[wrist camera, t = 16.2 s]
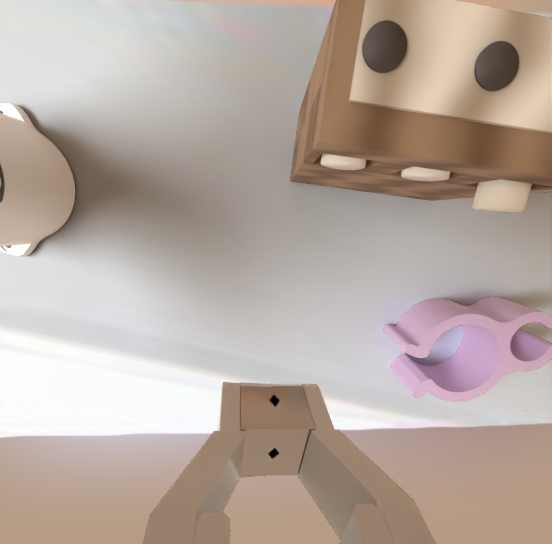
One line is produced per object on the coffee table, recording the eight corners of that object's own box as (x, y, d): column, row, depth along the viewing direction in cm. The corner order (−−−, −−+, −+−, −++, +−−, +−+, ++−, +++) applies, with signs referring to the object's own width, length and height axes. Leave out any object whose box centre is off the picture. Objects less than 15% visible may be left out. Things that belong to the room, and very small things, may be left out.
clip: (508, 278, 41) (556, 290, 34) (514, 351, 44) (559, 376, 37) (379, 311, 41) (401, 330, 35) (392, 382, 44) (415, 413, 37)
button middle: (393, 177, 25) (414, 170, 21) (403, 129, 24) (427, 114, 20) (431, 182, 25) (459, 177, 21) (442, 135, 24) (473, 121, 20)
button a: (316, 166, 24) (325, 157, 21) (324, 117, 23) (334, 99, 20) (356, 171, 24) (372, 164, 21) (365, 123, 24) (382, 107, 20)
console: (290, 181, 37) (320, 139, 17) (299, 112, 35) (344, -24, 15) (431, 200, 38) (616, 183, 18) (446, 135, 37) (668, 36, 16)
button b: (462, 207, 25) (494, 206, 22) (473, 162, 25) (508, 153, 21) (498, 212, 26) (536, 212, 22) (511, 168, 25) (552, 160, 21)
